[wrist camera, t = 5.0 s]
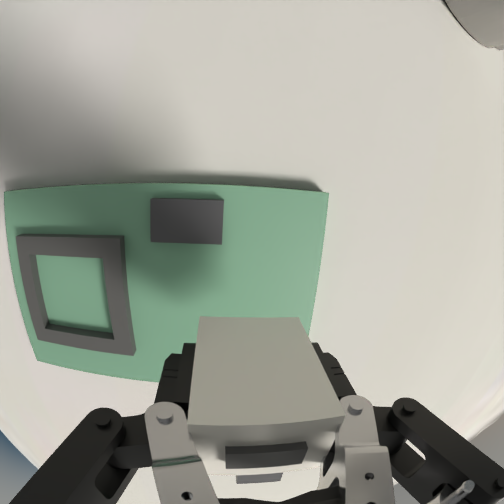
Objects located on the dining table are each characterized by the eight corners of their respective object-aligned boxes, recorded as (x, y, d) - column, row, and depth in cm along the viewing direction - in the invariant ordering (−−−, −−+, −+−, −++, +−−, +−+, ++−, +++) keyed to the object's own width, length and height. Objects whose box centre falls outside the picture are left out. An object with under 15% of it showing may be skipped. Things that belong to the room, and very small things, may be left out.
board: (323, 191, 17) (334, 194, 15) (295, 375, 20) (300, 390, 19) (11, 190, 14) (-3, 193, 12) (42, 354, 18) (33, 365, 16)
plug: (298, 317, 12) (349, 422, 6) (287, 381, 13) (317, 481, 7) (199, 316, 12) (186, 432, 6) (202, 382, 13) (197, 489, 7)
